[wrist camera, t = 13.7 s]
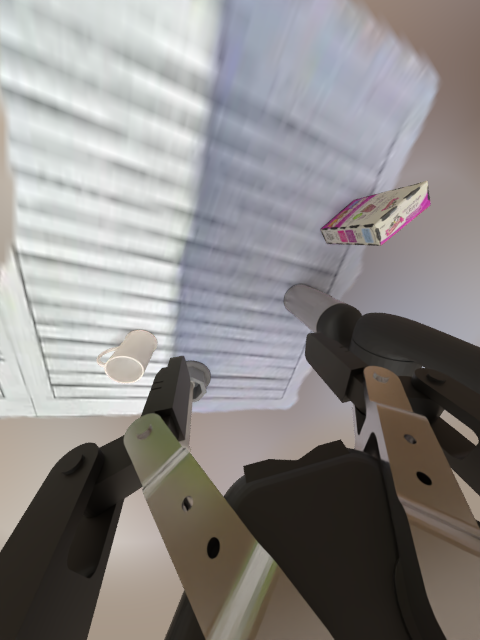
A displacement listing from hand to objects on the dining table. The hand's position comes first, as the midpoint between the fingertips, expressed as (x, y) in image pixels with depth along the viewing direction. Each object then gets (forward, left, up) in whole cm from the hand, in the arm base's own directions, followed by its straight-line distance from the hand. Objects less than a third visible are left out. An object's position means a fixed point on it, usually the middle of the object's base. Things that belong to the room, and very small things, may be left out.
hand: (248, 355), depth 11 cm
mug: (+26, +18, -38) cm, 50 cm away
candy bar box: (-35, -8, -38) cm, 52 cm away
